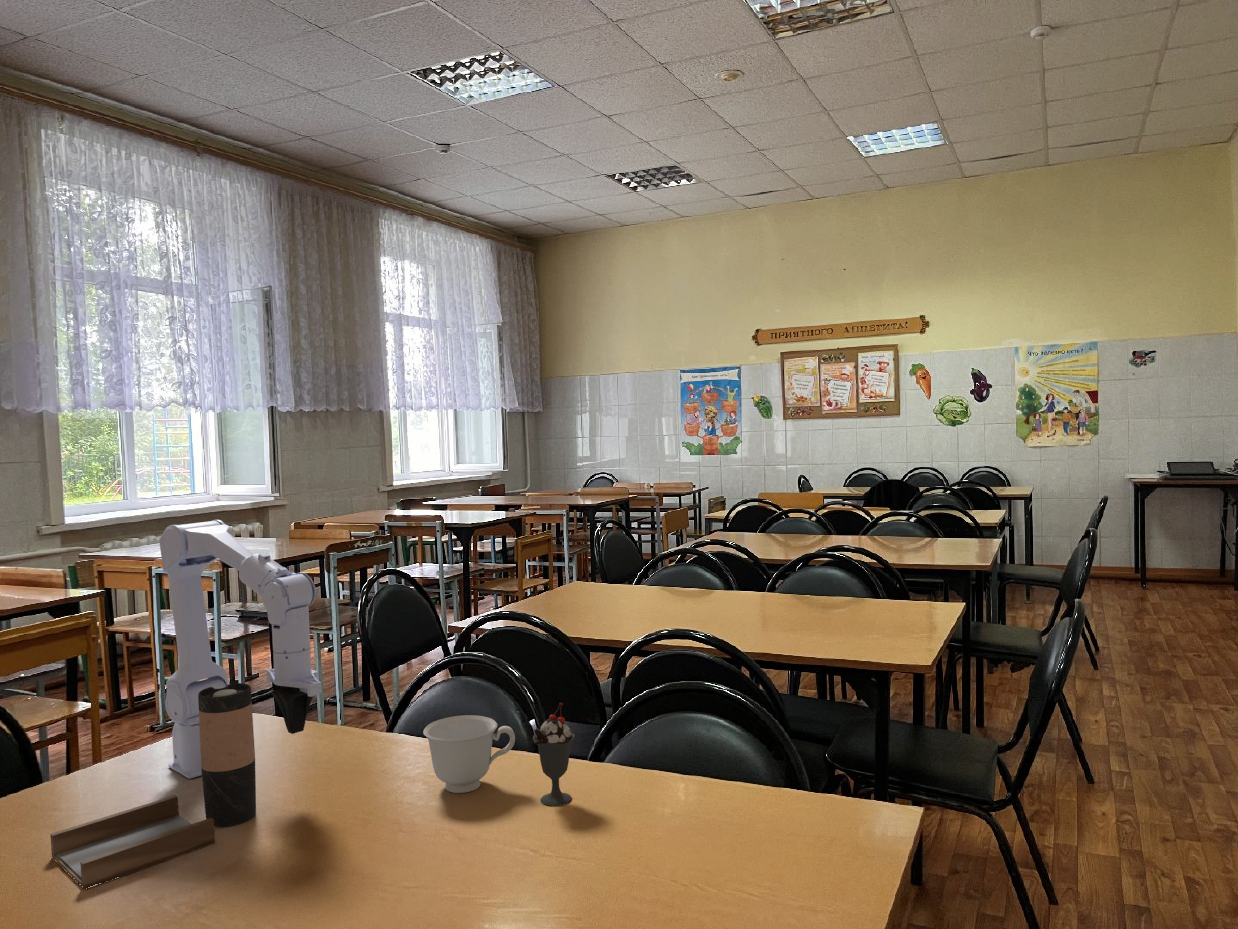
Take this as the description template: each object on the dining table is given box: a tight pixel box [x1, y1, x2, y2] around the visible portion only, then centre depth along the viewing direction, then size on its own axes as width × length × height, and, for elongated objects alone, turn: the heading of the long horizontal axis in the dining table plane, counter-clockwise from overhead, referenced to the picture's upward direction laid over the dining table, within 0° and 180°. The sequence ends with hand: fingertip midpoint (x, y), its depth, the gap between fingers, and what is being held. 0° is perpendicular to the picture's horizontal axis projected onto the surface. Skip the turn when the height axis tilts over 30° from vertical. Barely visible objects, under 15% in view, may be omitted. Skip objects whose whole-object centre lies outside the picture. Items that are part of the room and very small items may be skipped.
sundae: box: [532, 702, 576, 807], centre depth 142 cm, size 7×7×15 cm
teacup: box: [422, 714, 516, 794], centre depth 148 cm, size 12×15×10 cm
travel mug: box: [198, 682, 257, 828], centre depth 139 cm, size 8×8×20 cm
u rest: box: [50, 794, 216, 890], centre depth 129 cm, size 14×17×4 cm
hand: (295, 731), depth 147 cm, fingers closed
